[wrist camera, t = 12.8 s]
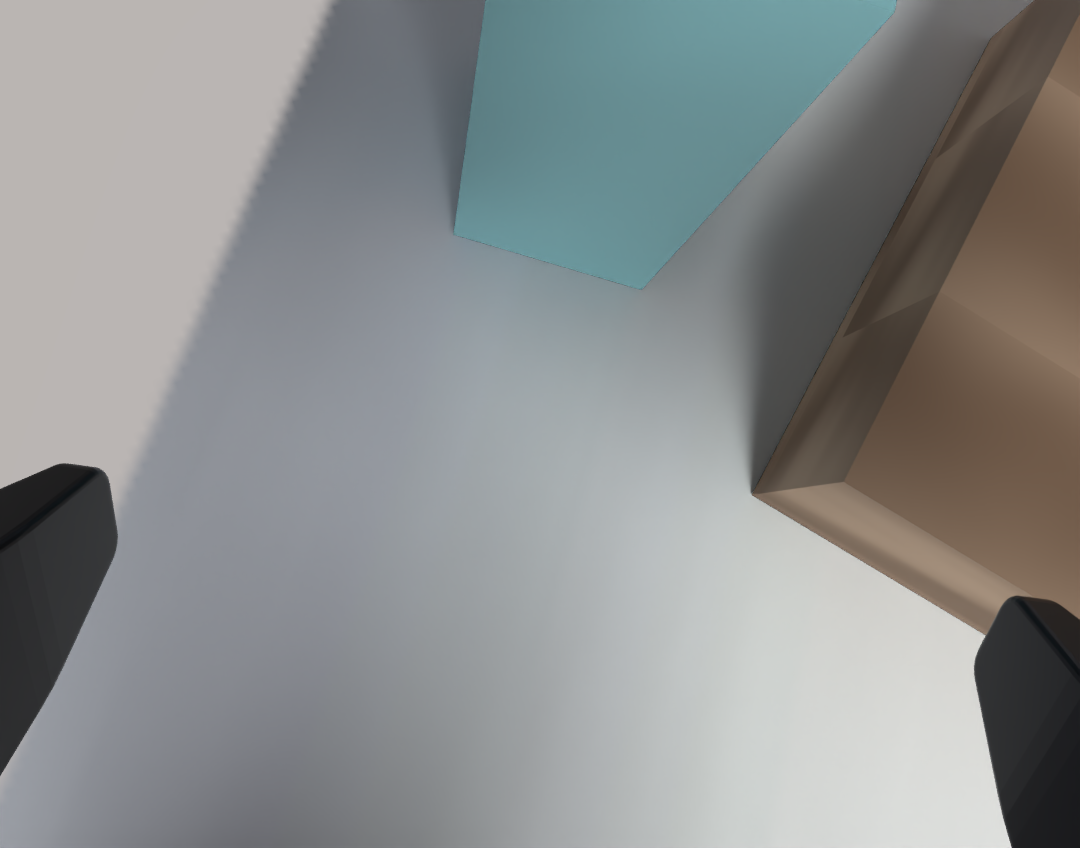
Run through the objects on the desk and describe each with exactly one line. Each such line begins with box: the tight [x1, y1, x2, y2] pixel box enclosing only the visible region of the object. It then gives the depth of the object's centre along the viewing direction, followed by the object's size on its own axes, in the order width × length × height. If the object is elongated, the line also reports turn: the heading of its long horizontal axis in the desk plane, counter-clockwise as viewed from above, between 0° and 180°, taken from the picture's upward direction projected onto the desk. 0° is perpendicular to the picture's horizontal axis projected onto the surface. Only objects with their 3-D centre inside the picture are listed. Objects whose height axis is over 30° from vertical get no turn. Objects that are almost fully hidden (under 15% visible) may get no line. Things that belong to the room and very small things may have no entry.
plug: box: [453, 0, 897, 290], centre depth 14 cm, size 4×4×10 cm
